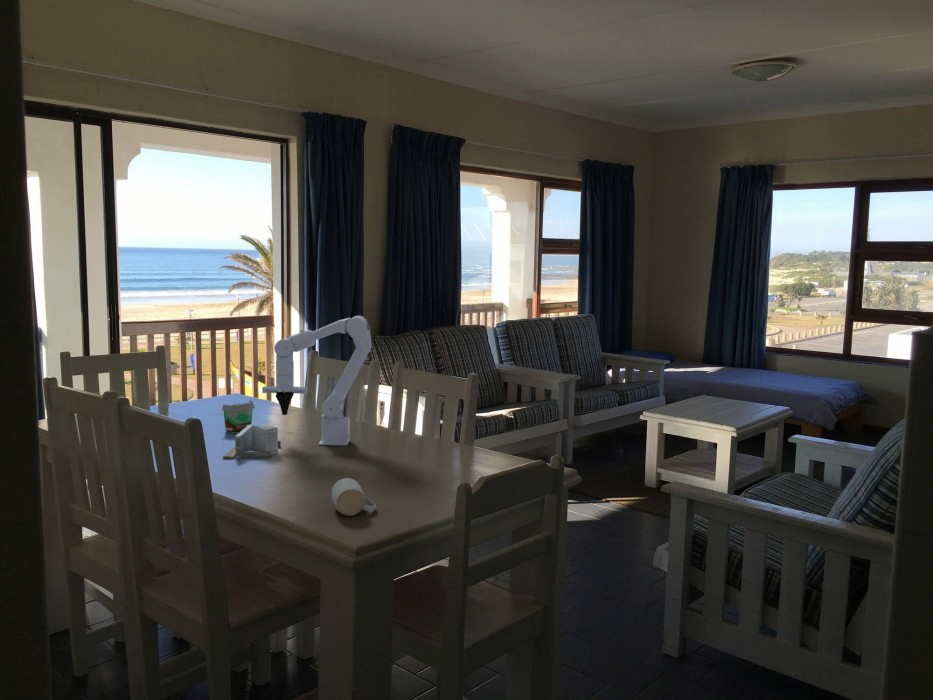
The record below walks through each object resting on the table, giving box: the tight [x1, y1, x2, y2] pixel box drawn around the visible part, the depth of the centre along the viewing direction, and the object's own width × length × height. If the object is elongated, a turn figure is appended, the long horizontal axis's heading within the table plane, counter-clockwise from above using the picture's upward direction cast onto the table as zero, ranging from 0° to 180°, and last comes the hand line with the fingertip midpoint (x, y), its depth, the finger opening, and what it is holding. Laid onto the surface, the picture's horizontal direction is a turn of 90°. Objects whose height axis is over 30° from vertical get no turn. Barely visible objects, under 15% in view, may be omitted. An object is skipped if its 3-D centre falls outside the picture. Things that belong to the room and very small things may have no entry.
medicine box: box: [251, 423, 279, 456], centre depth 239 cm, size 8×4×9 cm, turn 50°
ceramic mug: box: [330, 477, 377, 517], centre depth 186 cm, size 11×8×8 cm
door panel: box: [234, 424, 254, 459], centre depth 239 cm, size 2×17×7 cm, turn 2°
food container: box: [221, 399, 255, 433], centre depth 266 cm, size 12×6×10 cm, turn 143°
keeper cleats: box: [240, 440, 282, 459], centre depth 240 cm, size 9×15×2 cm, turn 2°
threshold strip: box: [222, 445, 236, 460], centre depth 239 cm, size 3×18×1 cm, turn 2°
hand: (284, 414), depth 253 cm, fingers closed
